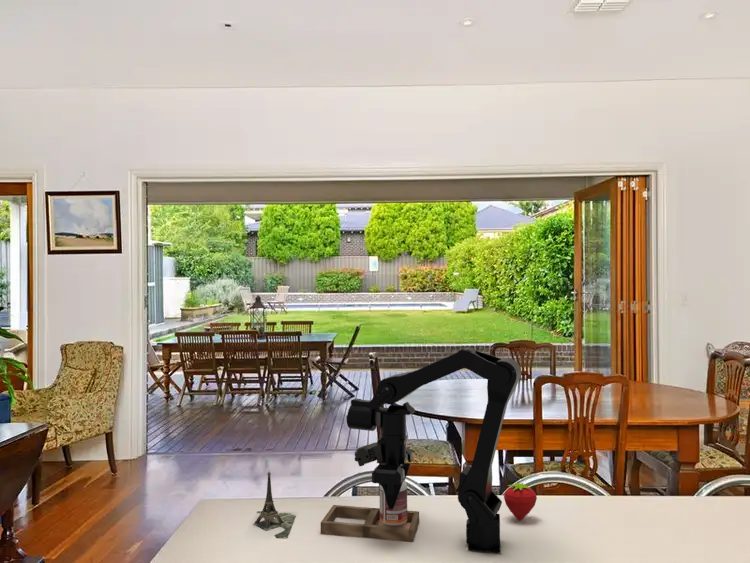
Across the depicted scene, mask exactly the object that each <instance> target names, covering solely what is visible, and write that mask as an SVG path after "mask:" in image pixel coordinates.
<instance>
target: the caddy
mask: <svg viewBox="0 0 750 563" xmlns="http://www.w3.org/2000/svg"><path fill="white" fill-rule="evenodd" d="M337 518H338V519H349V520H350V519H351V520H360V521H361V520H364V523H356V522H355V523H353V522H341V521H335V520H336V519H337ZM419 525H420V511H418V510H407V522H406V523H405V524H403V525H399V526H388V525H385V524H383V523H382V522H381V521H380V507H379V508H378V507H367V506H365V507H364V506H355V505H354V506H351V505H341V504H340V505H339V504H338V505H337V504H333V505H332V506H331V507H330V509H329V510H328V511H327V513H326V515H325V516H324V517H323V519H321V521H320V535H326V536H327V535H330V536H337V537H338V536H339V537H351V538H361V539H372V540H373V539H374V540H383V541H398V542H407V543H408V542H409V543H414V542H415V537H416V534H417V531H418V528H419Z"/></svg>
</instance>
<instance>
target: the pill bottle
mask: <svg viewBox="0 0 750 563" xmlns="http://www.w3.org/2000/svg"><path fill="white" fill-rule="evenodd" d="M403 478H405V474H404V469H403ZM405 479H406V478H405ZM378 487H379V508H380V521H381V522H382V523H383V524H385V525H388V526H399V525H403V524H405V523H406V522H407V511H408V484H407V482H406V480H405V481H403V484H402V486H401V489H400V492H399V495H398V497H397V500H396V503H395V506H394V508H393V509H389V508H388V505H387V501H386V497H385V493H384V490H383V487H382V486H381V485H380V484H379V486H378Z"/></svg>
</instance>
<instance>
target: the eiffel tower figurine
mask: <svg viewBox="0 0 750 563" xmlns="http://www.w3.org/2000/svg"><path fill="white" fill-rule="evenodd" d="M266 474H267V484H266V485H267V486H266V497H265V501H264V506H263V509H262V510H261V511H256V514H259V516H258V517H257V518H256V520H255V521H254V523H253V524H252V525H253V526H255V527H257V528H259V529H261V530H263V531H265V532H268V531H271V530H274V529H276V528H283V529H284V530H283V531H280V532H279V533H276V534H274V537H275V539H288V538H289V535H290V532H291V530H292V527H293V524H294V522H295V519H296V517H297V515H295V514H292V513H288V512H279V511H278V510H276V507H275V504H274V500H273V494H272V492H273V491H272V484H271V483H272V482H271V480H272V479H271V476H272V475H271V472H270V471H268V472H267V473H266ZM262 519H264V520H262Z"/></svg>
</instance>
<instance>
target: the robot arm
mask: <svg viewBox="0 0 750 563" xmlns="http://www.w3.org/2000/svg"><path fill="white" fill-rule="evenodd" d="M463 369H466V370H469V371H470V372H472V373H474V374H475V375H476V376H477V375H478V376H479V377H480V378H483V379H485V380H487V383H486V384H487V386H486V389H487V391H486V392H487V404H486V407H485V410H484V416H483V419H482V423H481V428H480V432H479V435H478V439H477V444H476V448H475V451H474V456H473V460H472V464H471V465H469V464H466V466H465V467H464V468H463V469H462V470H461V471H460V474H459V481H458V485H457V488H456V489H455V492H457V501H458V502H459V504H460V506H461V507H462V508H463V509H464V511H465V513H466V517H467V519H466V525H465V526H466V529H465V531H466V532H465V538H466V539H465V540H466V541H465V544H467V545H468V546H467V549H468V551H470V552H471V551H472V552H482V553H494V554H501V552H502V548H501V547H502V545H501V516H500V515H501V514H500V513H498V512H499V511H500V509H501V506H502V504H503V501H502V499H500V497H499V496H498V495H497V494H496V493H495V492H494V491H493V490H492V489H493V463H494V458H495V455H496V451H497V446H498V443H499V438H500V435H501V431H502V426H503V423H504V418H505V415H506V410H507V407H508V404H509V401H510V400H511V397H512V396H513V393H514V392H515V390H516V387H517V386H518V384H519V381H520V379H521V377H522V367H521V365H520V364H519V363H518V362H517V361H516V360H515V359H513V358H510V357H504V358H500V357H498V356H495V355H492V354H488V353H485V352H483V351H479V350H477V349H474V348H472V347H470V346H469V347H467V346H466V347H463V348H462V349H459V350H458V351H457V352H455V353H453V354H450V355H449V356H446V357H444V358H441V359H440V360H437V361H433V363H430V364H428V365H425V366H423V367H421V368H419V369H414V370H411V371H406V372H401V373H398V374H397V373H396V374H393V375H390V376H388V377H386V378H383V379H381V380H379V382H377V383H378V384H377V388H376V393H375V394H374V396H373V397H372V398H371V399H369V400H368V399H365V400H364V399H362V398H352V399H351V400H350V406H349V408H348V411H347V415H346V419H345V420H346V425H347V427H348V428H349V430H351V429H352V430H360V431H368V432H369V431H370V432H373V431H374V432H375V430H376V429H377V428H378V427H380V430H379V432H380V436H379V438H378V439H377V441H376V442H372V443H370V444H366V445H362V446H359V447H358V448H357V449H356V450H355V451H354V462H357V464H358V466H359V467H363V466H365V465H366V464H369V463H373V462H376V464H378V465H377V466H376V467H375V468H374V469H373V471H372V472H371V482H372V483H373V484H378V485H379V486H380V485H381V486H382V487H383V490H384V493H385V497H386V501H387V505H388V508H389V509H393V508H394V506H395V503H396V500H397V497H398V495H399V492H400V489H401V486H402V484H403V481H405V482H406V478H407V475H408V473H409V470H410V467H411V463H412V461H413V450H412V449H410V447H407V441H408V435H407V416H410V415H411V414H412V415H413V413H415V412H416V409H415V408H414V407H413V406H412V405H411V404H410V402H408V401H406V402H404V403H403V404H402V405H401V404H396V403H398V402H400V401H401V400H403V399H405V398H406V397H408V396H411V394H412V393H414V392H415V391H417V390H418V389H420V388H421V387H422V386H425V385H427V384H430V383H433V382H434V381H437V380H440V379H442V378H444V377H446V376H448V375H451V374H454V373H456V372H459V371H460V370H463ZM384 405H389V406H388V407H383V406H384ZM406 462H408V463H406ZM403 469H404V474H405V478H403Z"/></svg>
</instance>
